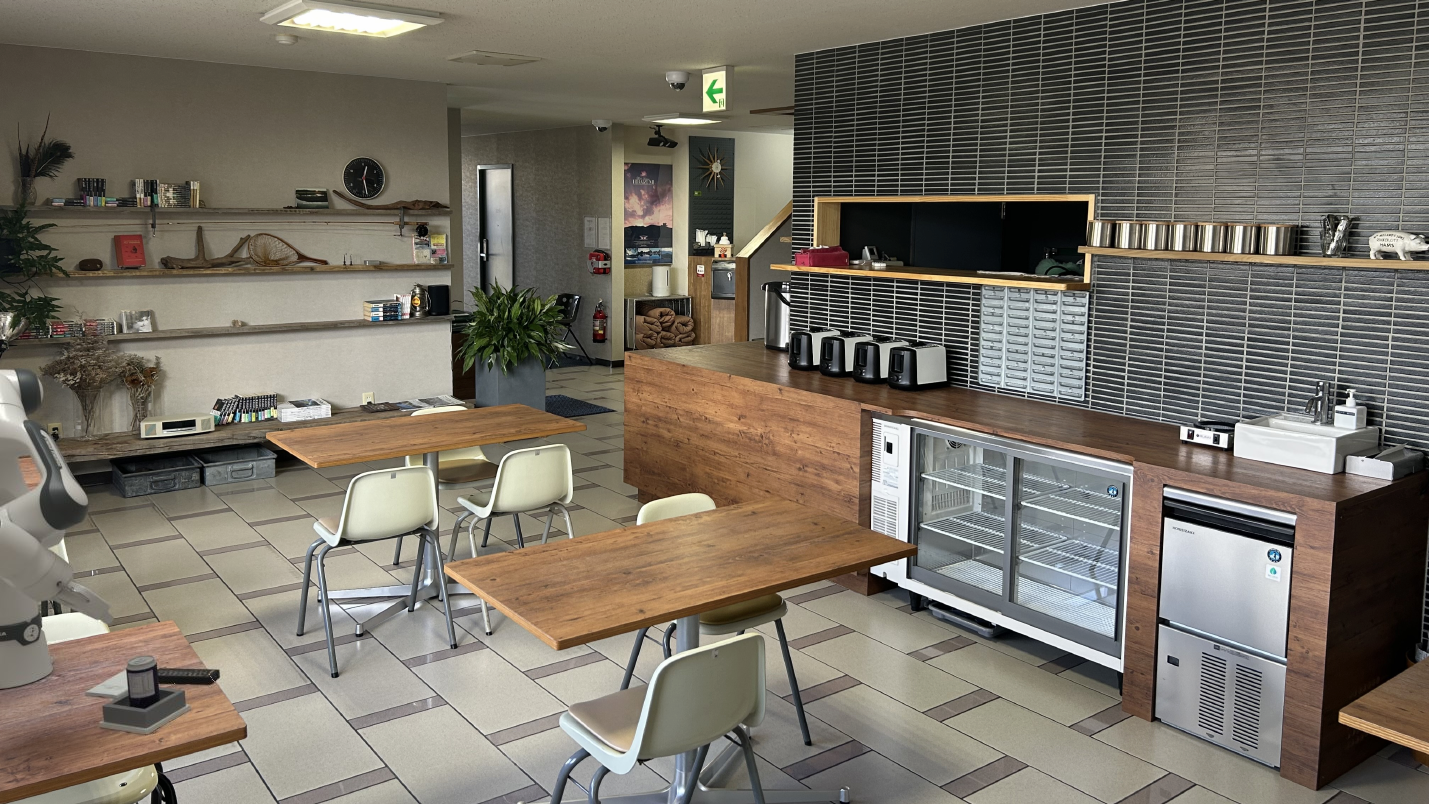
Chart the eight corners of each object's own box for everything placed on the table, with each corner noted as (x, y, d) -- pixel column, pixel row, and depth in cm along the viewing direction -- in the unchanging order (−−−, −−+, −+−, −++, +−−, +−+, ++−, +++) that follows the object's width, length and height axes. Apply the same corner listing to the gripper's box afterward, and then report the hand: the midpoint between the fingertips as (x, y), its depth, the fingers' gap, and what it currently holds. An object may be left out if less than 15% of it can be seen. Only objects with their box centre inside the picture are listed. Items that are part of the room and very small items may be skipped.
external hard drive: (157, 678, 242) (117, 701, 230) (126, 675, 244) (85, 697, 232) (157, 671, 242) (116, 694, 230) (126, 668, 243) (84, 690, 231)
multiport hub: (159, 677, 242) (159, 667, 242) (221, 678, 242) (220, 669, 241) (148, 685, 238) (147, 675, 238) (211, 686, 237) (210, 677, 237)
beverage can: (167, 710, 222) (162, 656, 220) (143, 721, 217) (138, 667, 215) (148, 705, 224) (143, 652, 222) (124, 716, 219) (119, 662, 217)
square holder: (99, 727, 217) (97, 706, 216) (145, 702, 228) (143, 682, 228) (147, 734, 214) (145, 714, 213) (190, 709, 225) (189, 689, 224)
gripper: (86, 576, 201) (136, 614, 211) (34, 554, 212) (84, 591, 222) (61, 603, 198) (113, 640, 207) (9, 580, 209) (61, 616, 218)
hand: (97, 615), depth 215 cm, fingers open, 8 cm apart
